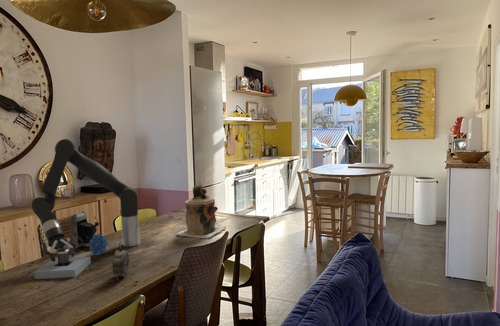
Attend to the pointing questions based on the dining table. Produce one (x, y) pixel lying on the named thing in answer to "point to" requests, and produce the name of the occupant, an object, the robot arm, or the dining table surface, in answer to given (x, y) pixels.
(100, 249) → the grapes
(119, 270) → the alarm clock
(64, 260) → the metal cylinder
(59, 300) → the dining table surface
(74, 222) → the vintage camera
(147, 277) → the dining table surface
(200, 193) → the cookie jar
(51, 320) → the dining table surface
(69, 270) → the holder
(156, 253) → the dining table surface
